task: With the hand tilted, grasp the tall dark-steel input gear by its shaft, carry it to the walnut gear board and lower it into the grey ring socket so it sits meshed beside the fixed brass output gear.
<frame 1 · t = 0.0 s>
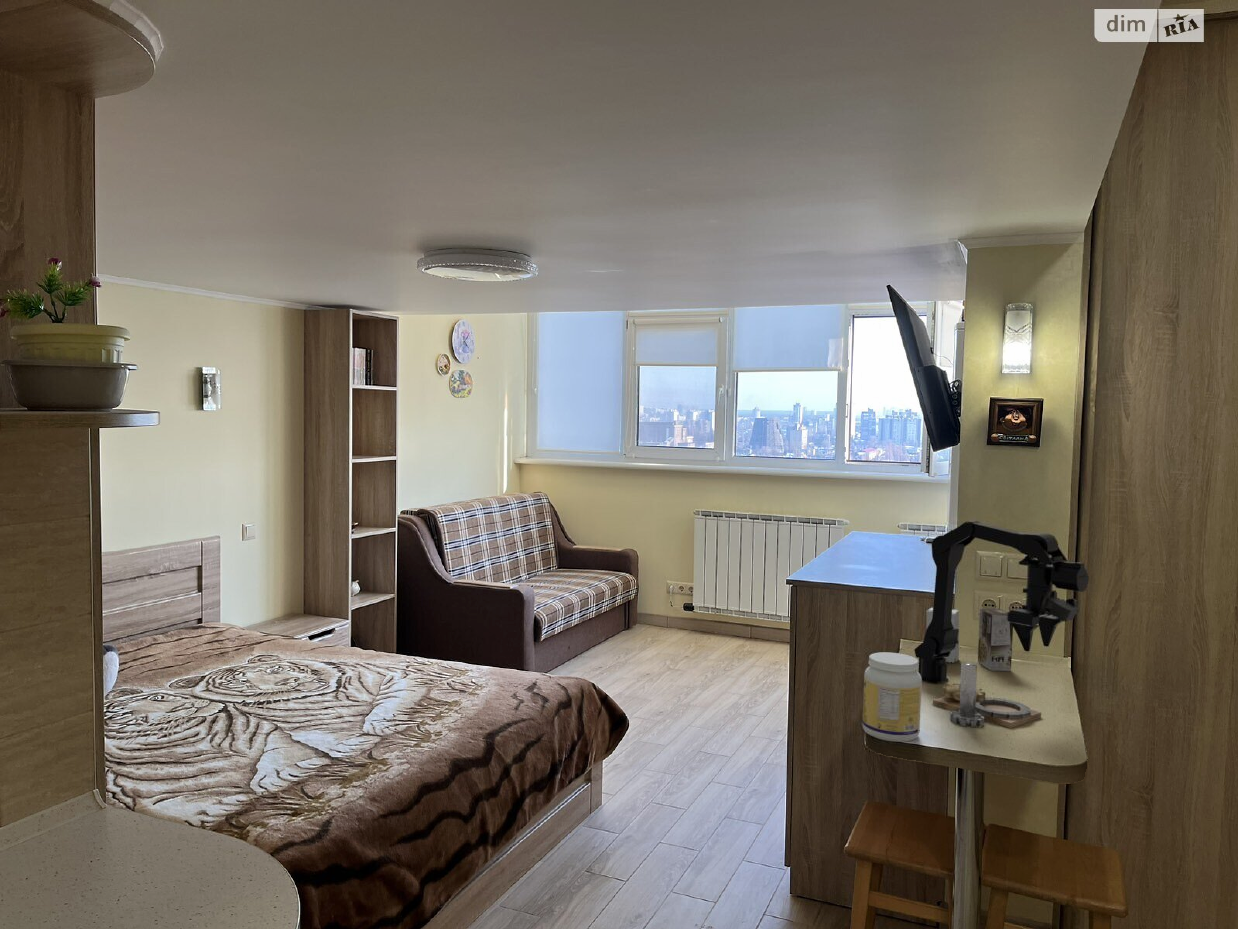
hand: (1036, 648, 214), 15 cm above the countertop, tool pointing down, fingers open, 9 cm apart
supplement tub: (890, 734, 194), on the countertop
coffee box: (994, 667, 253), on the countertop
input gear: (966, 721, 203), on the countertop
gear board: (985, 711, 211), on the countertop
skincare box: (941, 660, 259), on the countertop
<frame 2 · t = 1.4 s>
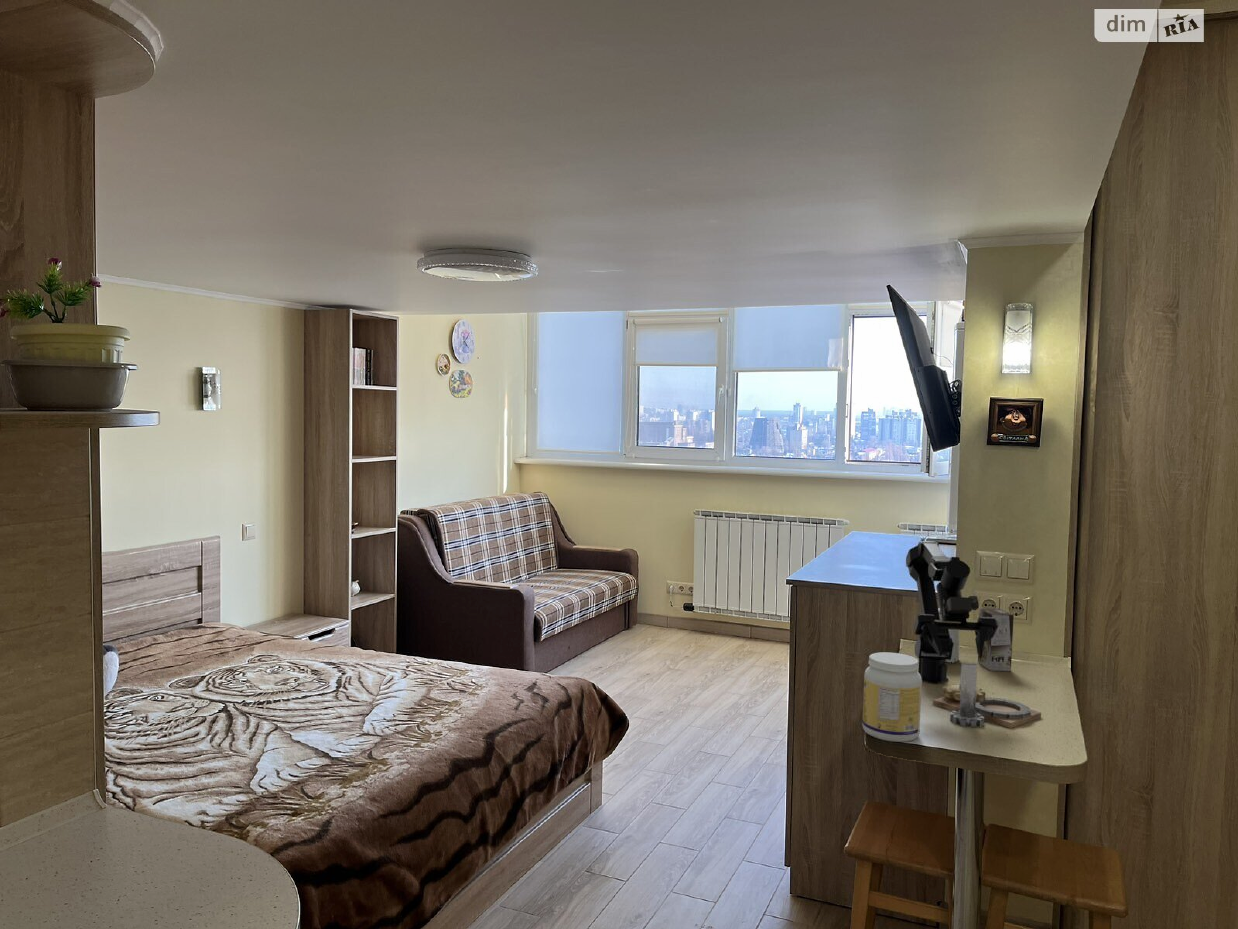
hand: (960, 656, 210), 13 cm above the countertop, tool tilted 45°, fingers open, 9 cm apart
nothing on the countertop moved.
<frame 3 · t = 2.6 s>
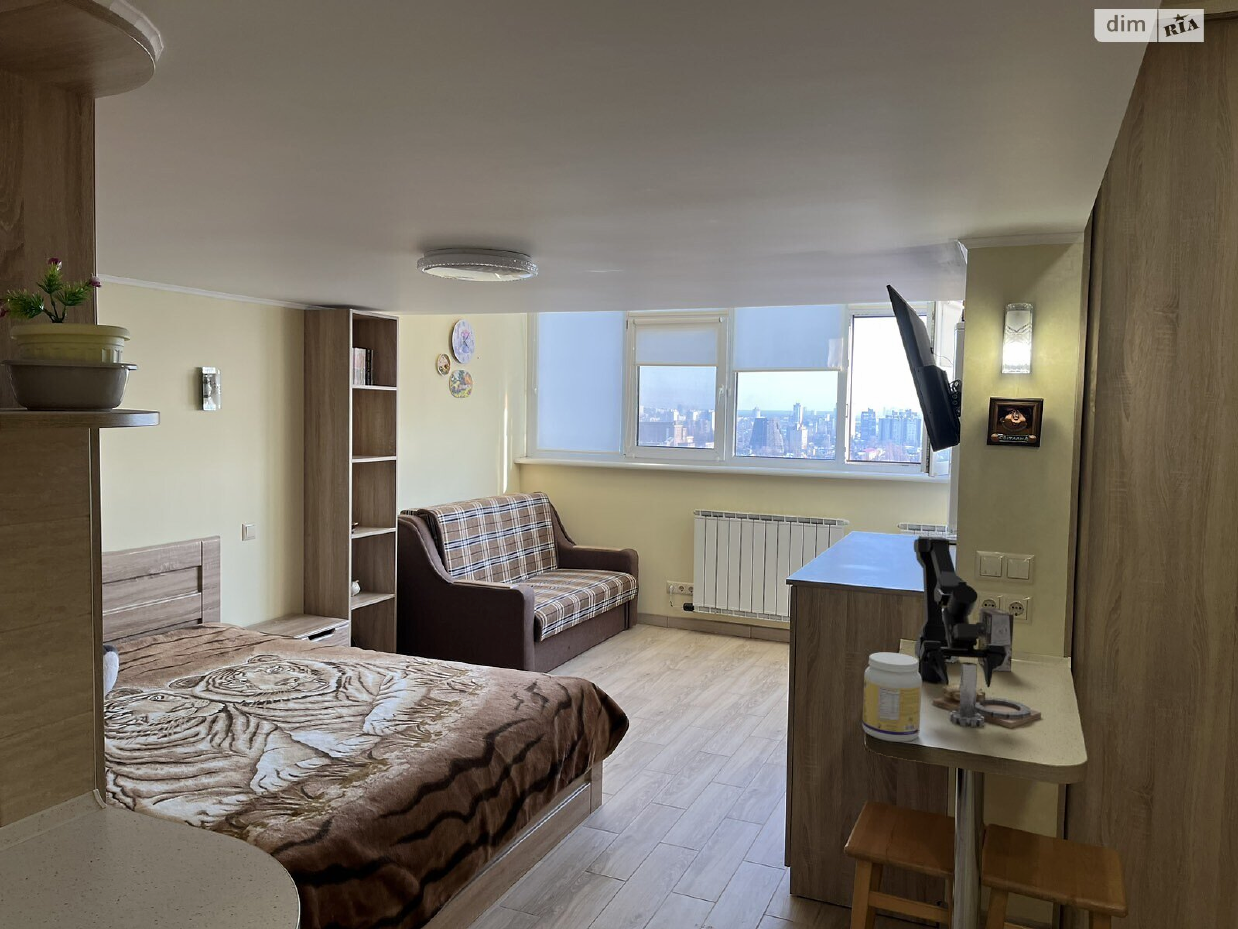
hand: (968, 685, 203), 9 cm above the countertop, tool tilted 45°, fingers open, 9 cm apart
nothing on the countertop moved.
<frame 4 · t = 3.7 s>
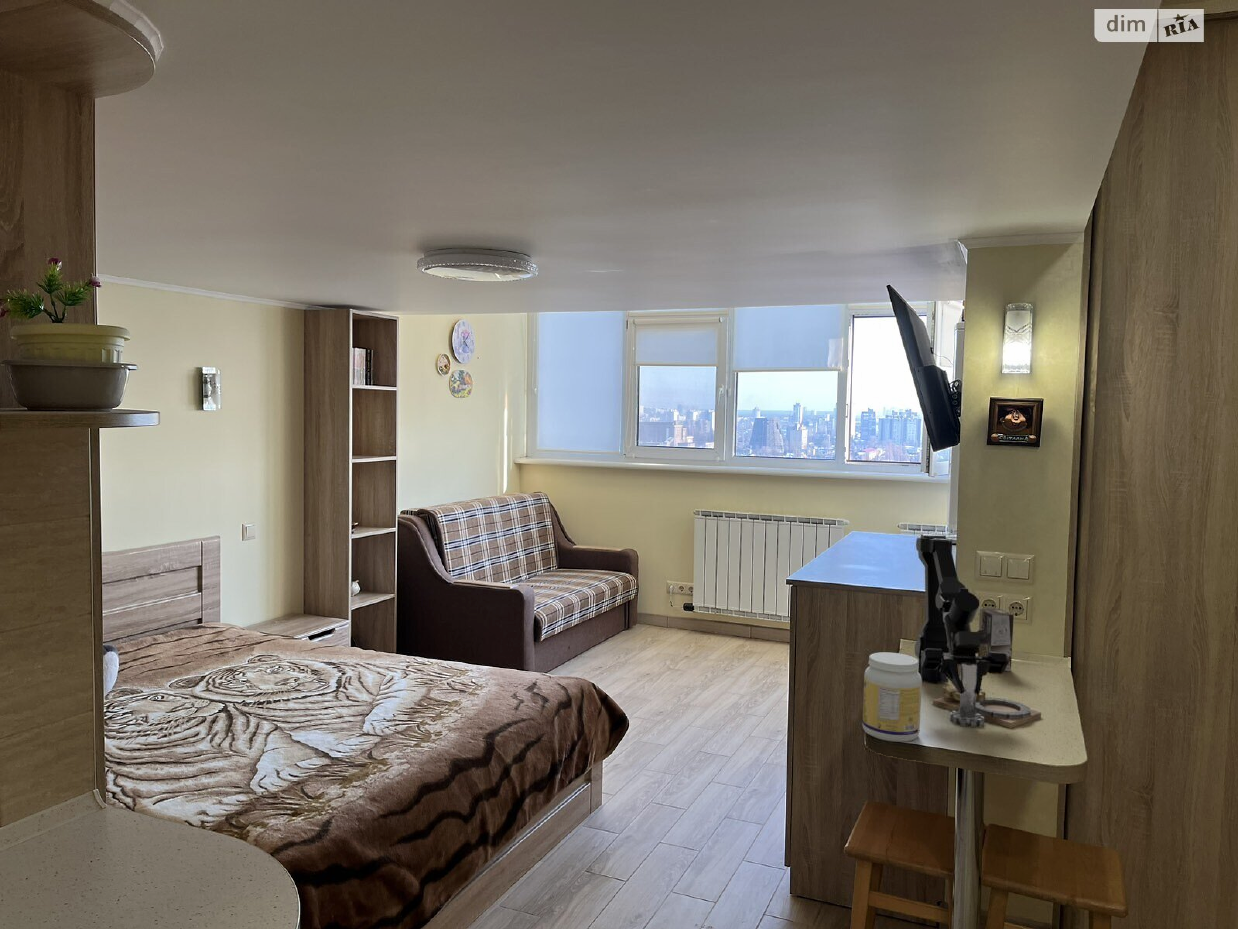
hand: (969, 693, 201), 7 cm above the countertop, tool tilted 45°, fingers closed on input gear, 3 cm apart
input gear: (966, 721, 203), on the countertop, touching gripper
everything else where it was.
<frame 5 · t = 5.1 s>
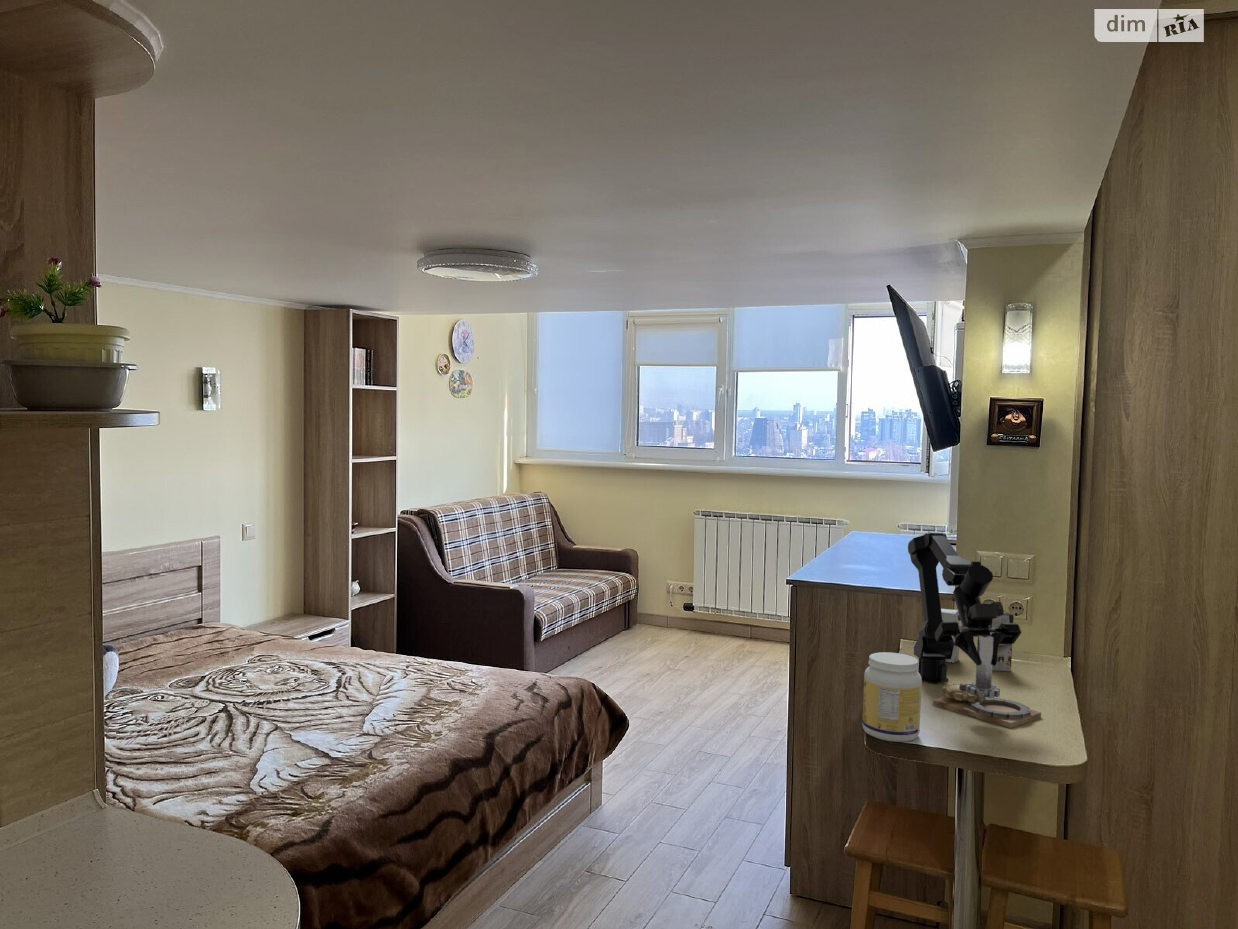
hand: (986, 665, 203), 13 cm above the countertop, tool tilted 45°, fingers closed on input gear, 3 cm apart
input gear: (982, 693, 205), point 6 cm above the countertop, touching gripper
everything else where it was.
when the fingers open (10 cm above the countertop, at t = 6.4 s): input gear drops 2 cm, resting on gear board.
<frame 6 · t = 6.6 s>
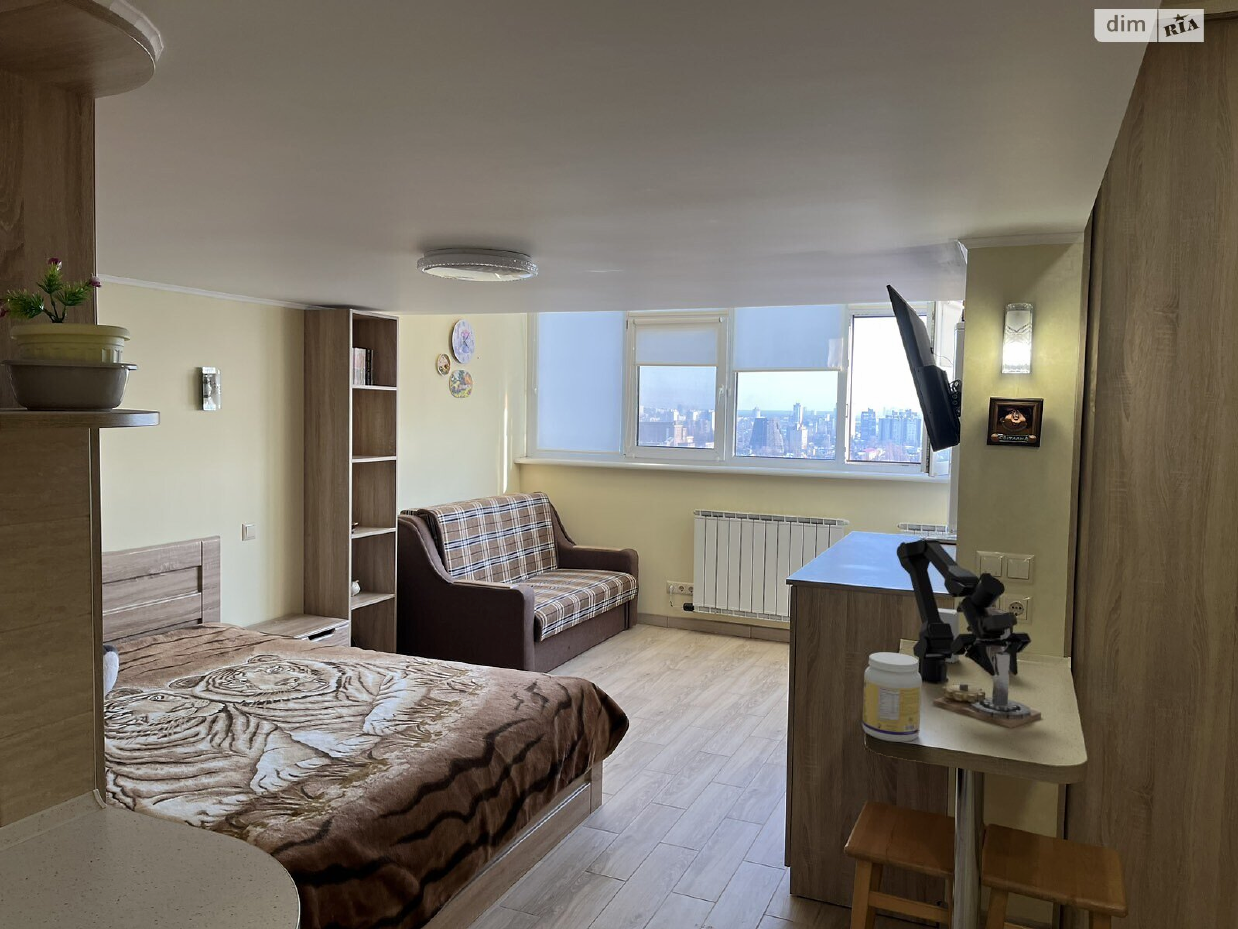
hand: (1005, 674, 207), 10 cm above the countertop, tool tilted 45°, fingers open, 6 cm apart
input gear: (999, 709, 209), point 1 cm above the countertop, touching gear board
everything else where it was.
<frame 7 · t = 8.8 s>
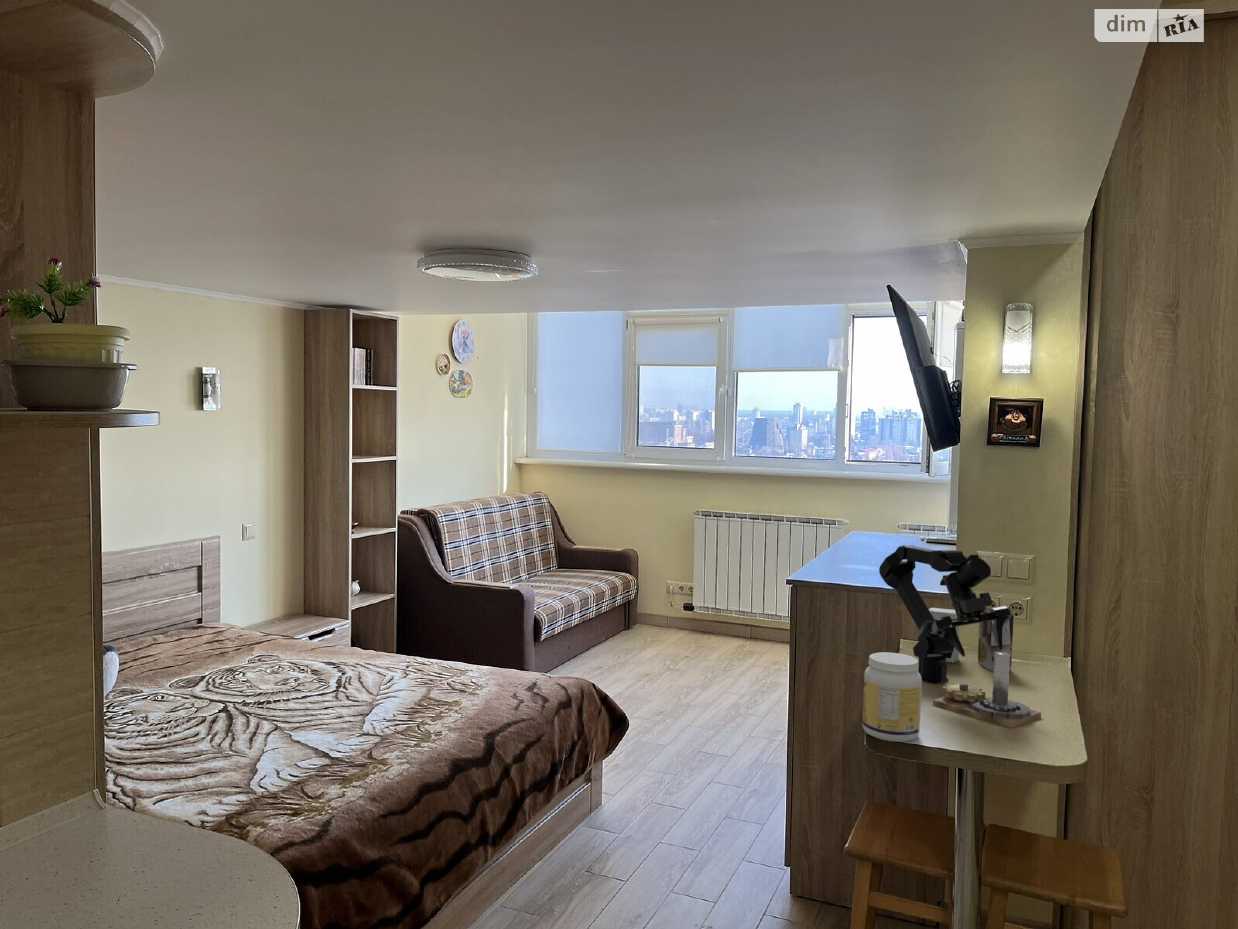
hand: (982, 653, 218), 12 cm above the countertop, tool tilted 35°, fingers open, 9 cm apart
nothing on the countertop moved.
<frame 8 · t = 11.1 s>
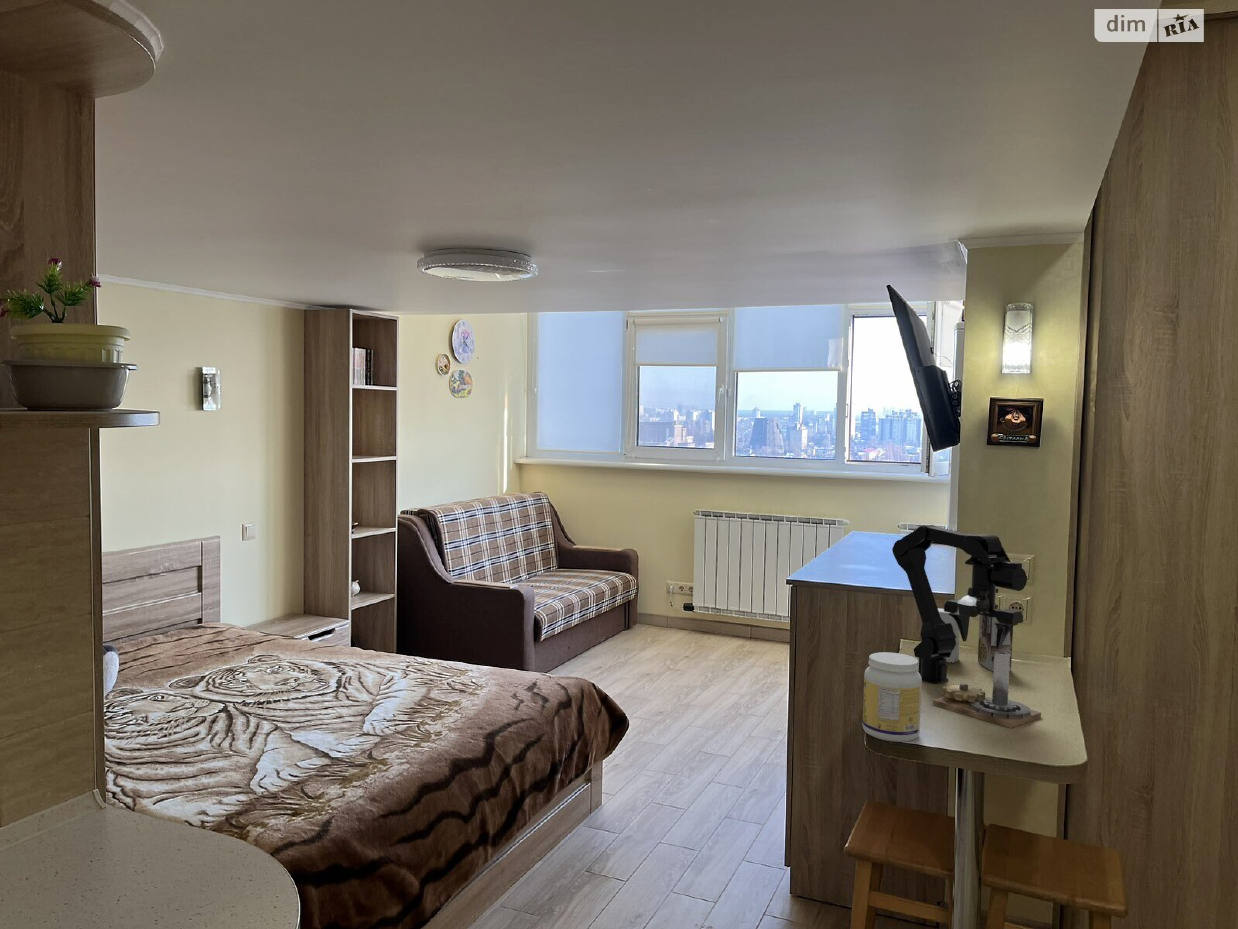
hand: (981, 645, 224), 13 cm above the countertop, tool pointing down, fingers open, 9 cm apart
nothing on the countertop moved.
at the end: input gear 0.1 cm from the target spot on the gear board, point 1.2 cm above the gear board's base; input gear tilted 0°; the gripper is holding nothing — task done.
